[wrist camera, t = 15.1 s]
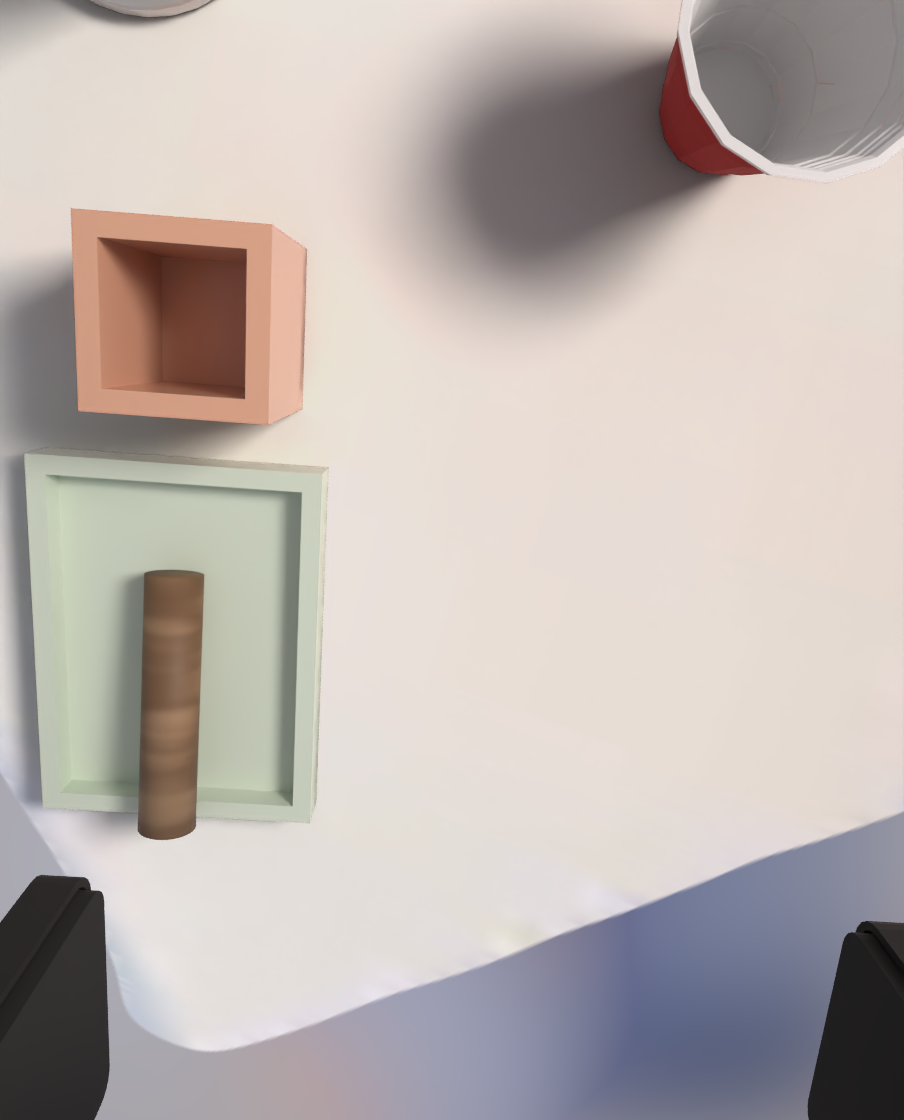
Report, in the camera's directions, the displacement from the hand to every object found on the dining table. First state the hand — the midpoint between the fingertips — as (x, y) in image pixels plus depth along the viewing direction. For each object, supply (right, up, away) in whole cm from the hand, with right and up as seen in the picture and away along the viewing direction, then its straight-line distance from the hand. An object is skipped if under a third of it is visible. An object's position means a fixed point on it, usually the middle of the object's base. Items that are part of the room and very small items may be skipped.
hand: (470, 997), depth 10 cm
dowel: (-15, +5, +36) cm, 39 cm away
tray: (-15, +1, +37) cm, 40 cm away
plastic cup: (+13, +28, +31) cm, 43 cm away
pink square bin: (-12, +18, +33) cm, 39 cm away
